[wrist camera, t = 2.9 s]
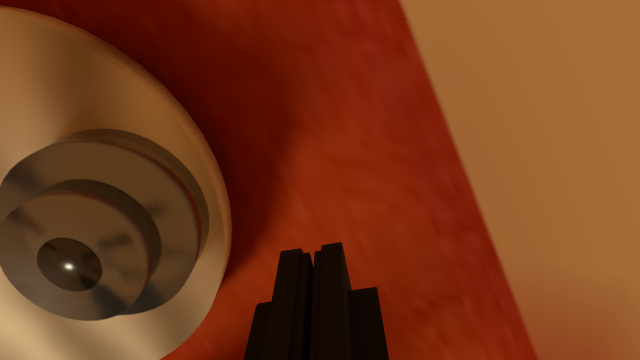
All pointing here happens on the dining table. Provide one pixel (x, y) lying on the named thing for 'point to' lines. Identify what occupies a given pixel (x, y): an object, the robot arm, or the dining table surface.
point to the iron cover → (101, 225)
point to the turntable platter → (84, 114)
